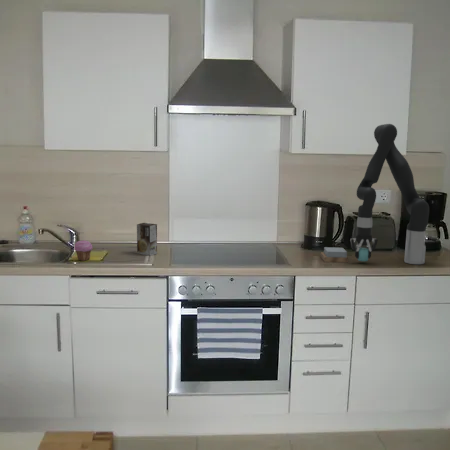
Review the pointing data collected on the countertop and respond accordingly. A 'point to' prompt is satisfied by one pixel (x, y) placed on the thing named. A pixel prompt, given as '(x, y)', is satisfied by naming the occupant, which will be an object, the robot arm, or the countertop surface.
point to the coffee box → (147, 239)
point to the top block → (335, 252)
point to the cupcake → (83, 250)
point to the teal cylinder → (363, 254)
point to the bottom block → (332, 258)
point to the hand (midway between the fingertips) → (362, 258)
